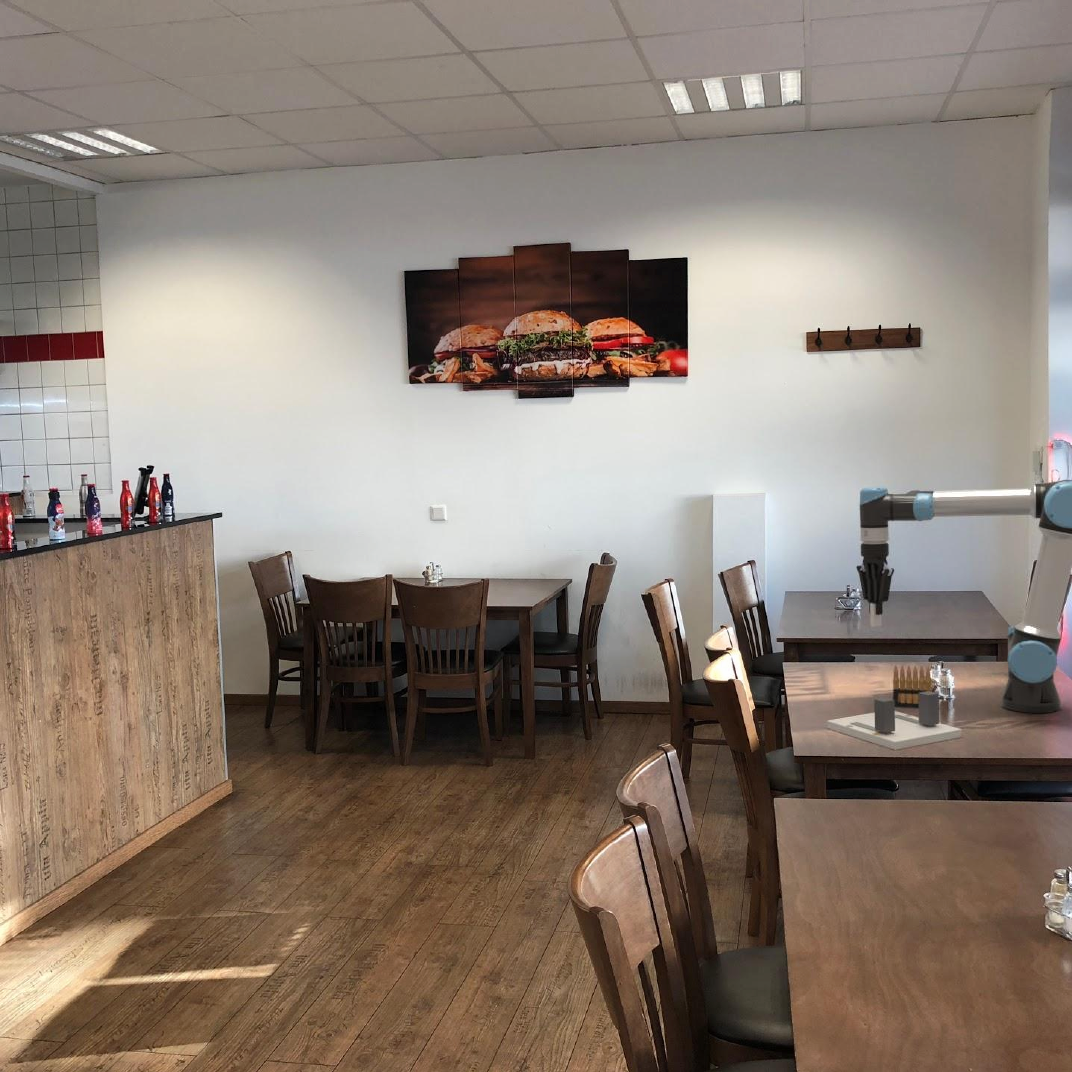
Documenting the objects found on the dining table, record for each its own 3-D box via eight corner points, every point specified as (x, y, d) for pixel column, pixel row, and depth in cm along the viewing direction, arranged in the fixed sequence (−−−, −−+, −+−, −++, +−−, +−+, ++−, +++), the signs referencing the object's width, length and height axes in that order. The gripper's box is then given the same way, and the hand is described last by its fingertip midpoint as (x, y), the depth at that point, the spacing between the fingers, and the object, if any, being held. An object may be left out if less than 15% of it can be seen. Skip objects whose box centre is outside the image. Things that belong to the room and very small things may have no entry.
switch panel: (826, 728, 302) (826, 720, 302) (890, 716, 311) (890, 708, 311) (895, 749, 278) (894, 741, 278) (961, 737, 287) (961, 728, 287)
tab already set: (874, 730, 288) (874, 699, 287) (885, 728, 289) (884, 697, 289) (884, 732, 285) (883, 701, 284) (895, 731, 286) (894, 700, 286)
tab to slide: (918, 723, 293) (918, 692, 292) (929, 721, 294) (928, 691, 294) (928, 725, 290) (928, 695, 289) (939, 723, 291) (938, 693, 291)
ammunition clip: (932, 707, 320) (931, 665, 319) (932, 708, 318) (931, 666, 317) (893, 705, 324) (892, 664, 323) (892, 706, 323) (891, 665, 322)
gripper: (848, 542, 319) (850, 624, 321) (880, 544, 307) (881, 630, 309) (869, 540, 322) (870, 621, 324) (901, 542, 310) (902, 627, 312)
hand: (876, 625), depth 316 cm, fingers closed
